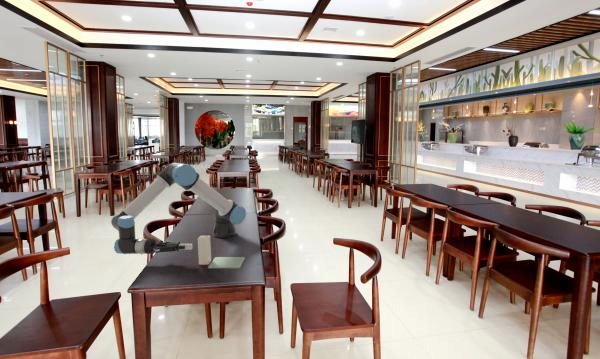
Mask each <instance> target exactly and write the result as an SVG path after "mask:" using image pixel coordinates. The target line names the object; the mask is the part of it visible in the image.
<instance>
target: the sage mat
mask: <svg viewBox="0 0 600 359" xmlns="http://www.w3.org/2000/svg"><path fill="white" fill-rule="evenodd" d="M245 259H246V257H245V256H215V257H214V258H213V260H211V262H210V264H209V265H207V269H241V267H242V265H243V264H244V262H245Z"/></svg>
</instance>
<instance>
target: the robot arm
mask: <svg viewBox="0 0 600 359" xmlns="http://www.w3.org/2000/svg"><path fill="white" fill-rule="evenodd" d="M200 176H201V175H200V174H199V173H198V172H197V171H196V169H195V168H194V167H193V166H191V165H190V164H188V163H181V162H172V163H169V164H168V165H166V166H165V167H164V168H163V169H162V170H161V171H160V172H159V173H158V174H156V178H155V179H154V180H153V181H152V182H151V183H150V184H149V185H147V187H146V188H145V189H144V190H142V191H141V193H140V194H138V195H137V197H136V198H134V200H132V201H131V203H129V204H128V205H127V206H126V207H125V208H124V209H123V210H122V211H121V212H120V213H118V214H116V215H114V216H112V218H111V220H110V223H111V225H112V227H113V228H114V229H116V230H117V231H118V239H116V240H115V241H114V245H113V249H114V250H113V251H114V252H115V253H116V254H122V255H130V254H131V255H134V254H135V255H136V254H137V255H141V256H142V255H145V254H146V255H153V254H158V253H159V254H160V253H169V252H179V251H181V250H183V251H184V250H185V251H187V250H189V251H190V250H191V251H192V250H193V243H181V242H180V241H173V240H171V241H170V240H163V241H158V242H157V240H156V239H155V238H150V239H149V238H136V225H135V224H136V223H135V219H136V218H137V217H138V216H139V215H140V214H141V213H143V212H144V210H146V208H147V207H148V206H150V204H152V202H153V201H154V200H155V199H156V198H158V197H159V196H160V195H161V194H162V193H163V192H164V191H165V190H166V189H167V188H170V187H171V186H173V185H174V184H177V185H178V186H180V188H182V189H184V190H185V191H191V192H192V193H194V194H195V195H196V196H197V197H199V198H201V200H204V202H206V203H207V204H208V205H210V206H211V207H212V208H214V226H213V230H212V236H213V237H214V238H220V239H221V238H222V239H223V238H230V237H233V236H236V234H237V230H236V227H235V225H240V224H242V223H243V222H245V219H246V217H247V211H246V209H245V207H244V206H242V205H239V204H237V203H236V202H235V201H234V200H232V199H227V198H226V197H224V195H222V194H221V193H219V192H218V191H217V190H216V189H214V188H213V187H212V186H211V185H209V184H208V183H207V182H206V181H204V180H203V179H202V178H200Z"/></svg>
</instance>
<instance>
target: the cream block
mask: <svg viewBox="0 0 600 359" xmlns="http://www.w3.org/2000/svg"><path fill="white" fill-rule="evenodd" d="M211 245H212V244H211V235H200V236H198V238H197V255H198V256H197V257H198V265H200V266H209V265H210V264H211V262H212V249H211V248H212V246H211Z"/></svg>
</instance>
